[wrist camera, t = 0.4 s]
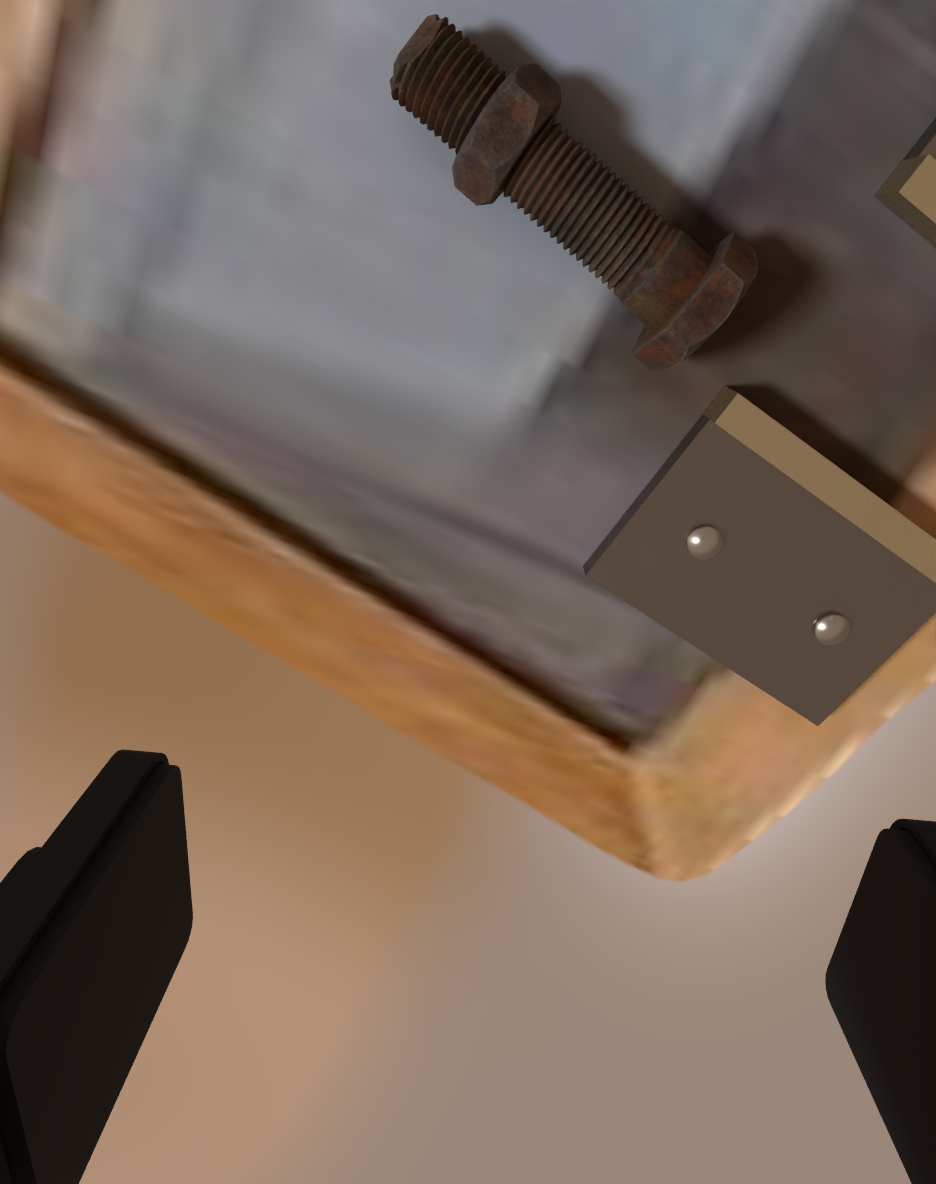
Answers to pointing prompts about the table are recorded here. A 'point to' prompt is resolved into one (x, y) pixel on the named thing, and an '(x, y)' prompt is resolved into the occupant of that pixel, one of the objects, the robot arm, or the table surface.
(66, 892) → the robot arm
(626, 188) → the bolt
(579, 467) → the table surface
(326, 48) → the table surface
